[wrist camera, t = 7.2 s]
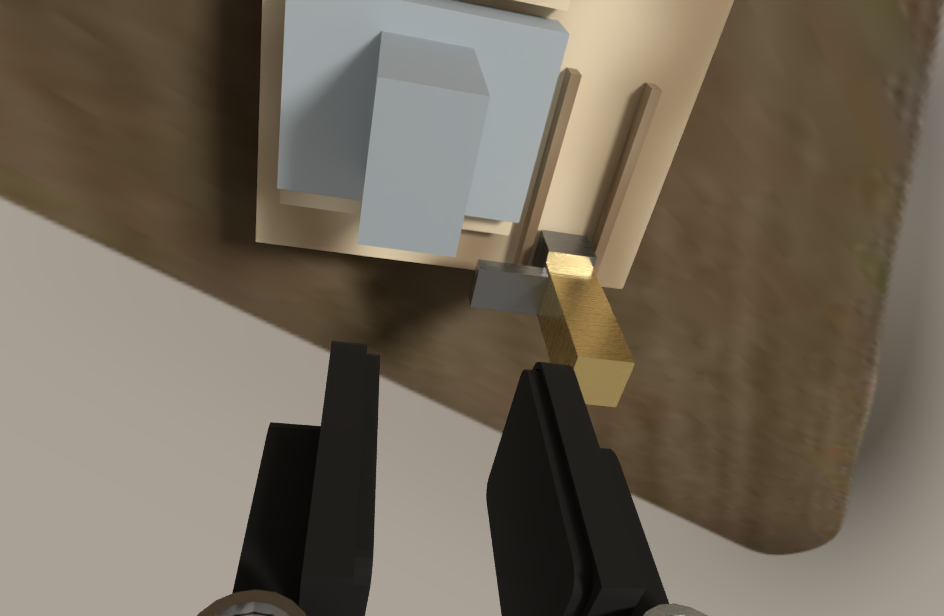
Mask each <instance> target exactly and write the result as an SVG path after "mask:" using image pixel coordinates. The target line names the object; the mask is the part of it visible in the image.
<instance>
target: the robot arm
mask: <svg viewBox="0 0 944 616" xmlns="http://www.w3.org/2000/svg"><path fill="white" fill-rule="evenodd" d="M379 370H380V355H373V354H367V344H357V343H347V342H337V341H332V344H331V352H330V360H329V367H328V376H327V383H326V391H325V398H324V406H323V414H322V422H321V426H310V425H297V424H284V423H270V425H269V428H268V433H267V436H266V441H265V446H264V451H263V456H262V460H261V464H260V469H259V473H258V478H257V483H256V488H255V492H254V497H253V502H252V506H251V510H250V515H249V519H248V524H247V529H246V533H245V538H244V543H243V547H242V552H241V556H240V561H239V566H238V570H237V575H236V579H235V584H234V589H233V593H232V594H230V595H228V596H226V597H223V598H221V599H218V600H216V601H215V602H214V603H212V604H211V605H210V606H208V607H207V608H205V609H204V610H203V611H202V612H200V613H199V614H198V615H197V616H365V611H366V606H367V601H368V596H369V590H370V583H371V575H372V565H373V547H374V546H373V545H374V517H375V489H376V459H377V429H378V397H379ZM486 499H487V508H488V515H489V522H490V531H491V538H492V546H493V553H494V561H495V567H496V576H497V583H498V591H499V598H500V606H501V614H502V616H707V615H705V614H704V613H701V612H699V611H697V610H695V609H693V608H691V607H688V606H683V605H679V604H669V602H668V599H667V596H666V593H665V591H664V588H663V585H662V582H661V579H660V577H659V574H658V571H657V568H656V565H655V562H654V559H653V557H652V554H651V551H650V548H649V545H648V542H647V539H646V537H645V534H644V531H643V528H642V525H641V522H640V520H639V517H638V514H637V511H636V508H635V505H634V503H633V500H632V497H631V494H630V491H629V488H628V485H627V483H626V480H625V477H624V474H623V471H622V468H621V465H620V463H619V460H618V458H617V456H616V454H615V453H614V452H613V451H612V450H611V449H605V448H600V447H599V444H598V441H597V438H596V435H595V432H594V429H593V426H592V423H591V420H590V417H589V414H588V410H587V407H586V404H585V401H584V398H583V395H582V392H581V389H580V386H579V383H578V380H577V377H576V374H575V371H574V369H573V367H572V366H571V365H565V364H555V363H545V362H537V363H536V364H535V365H534V367H533V370H523V372H522V374H521V376H520V379H519V383H518V386H517V389H516V392H515V395H514V399H513V402H512V405H511V408H510V411H509V415H508V418H507V421H506V424H505V427H504V431H503V434H502V437H501V441H500V443H499V447H498V450H497V453H496V456H495V460H494V463H493V466H492V469H491V473H490V475H489V479H488V483H487V493H486Z"/></svg>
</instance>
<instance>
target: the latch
mask: <svg viewBox="0 0 944 616" xmlns="http://www.w3.org/2000/svg"><path fill="white" fill-rule="evenodd" d="M596 259H597V257H596V255H595V252H594V250H593V248H592V246H591V244H590V242H589V239H588V237H587V236H582V235H575V234H568V233H561V232H554V231H547V230H541V234H540V237H539V240H538V244H537V247H536V251H535V254H534V258H533V261H532V265H531V266H526V265H519V264H511V263H504V262H496V261H488V260H481V259H478V261H477V265H476V269H475V273H474V278H473V282H472V286H471V290H470V294H469V302H470V307H474V308H483V309H491V310H500V311H508V312H517V313H525V314H533V315H537V317H538V320H539V324H540V327H541V331H542V334H543V338H544V341H545V345H546V349H547V352H548V356H549V359H550V363H555V364H565V365H571V366H572V367H573V369H574V371H575V374H576V377H577V380H578V383H579V386H580V389H581V392H582V395H583V398H584V401H585V404H590V405H601V406H611V407H616V406H617V404H618V402H619V399H620V397H621V395H622V392H623V390H624V388H625V385H626V383H627V381H628V378H629V376H630V374H631V371H632V369H633V367H634V364H635V361H634V359H633V357H632V355H631V352H630V350H629V348H628V346H627V343H626V341H625V339H624V336H623V334H622V332H621V330H620V327H619V325H618V323H617V321H616V318H615V316H614V314H613V312H612V309H611V307H610V305H609V303H608V300H607V298H606V296H605V294H604V291H603V289H602V287H601V285H600V282H599V280H598V278H597V276H596V273H595V271H594V269H593V268H594V265H595V262H596Z"/></svg>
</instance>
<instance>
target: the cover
mask: <svg viewBox="0 0 944 616" xmlns="http://www.w3.org/2000/svg"><path fill="white" fill-rule="evenodd" d="M569 35H570V34H569V33H568V31H567V30H566V29H565V28H564V27H563V26H562V24H561V23H560V22H559V21H558V20H554V19H549V18H544V17H539V16H534V15H530V14H525V13H520V12H515V11H510V10H505V9H500V8H495V7H490V6H485V5H480V4H475V3H470V2H465V1H460V0H286V3H285V25H284V47H283V69H282V91H281V113H280V135H279V157H278V179H277V188H278V189H285V190H292V191H299V192H306V193H313V194H320V195H327V196H334V197H341V198H347V199H354V200H361V211H360V220H359V229H358V239H357V244H359V245H367V246H374V247H382V248H389V249H397V250H405V251H412V252H420V253H427V254H435V255H442V256H450V257H456V253H457V248H458V243H459V239H460V234H461V230H462V225H463V220H464V216H465V215H466V216H473V217H480V218H487V219H494V220H501V221H508V222H515V223H519V221H520V217H521V214H522V210H523V206H524V202H525V199H526V195H527V191H528V188H529V184H530V180H531V176H532V173H533V169H534V165H535V161H536V158H537V154H538V150H539V147H540V143H541V139H542V135H543V132H544V128H545V124H546V120H547V117H548V113H549V109H550V106H551V102H552V98H553V94H554V91H555V87H556V83H557V79H558V76H559V72H560V68H561V65H562V61H563V57H564V53H565V50H566V46H567V42H568V38H569Z"/></svg>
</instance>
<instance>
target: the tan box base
mask: <svg viewBox="0 0 944 616" xmlns="http://www.w3.org/2000/svg"><path fill="white" fill-rule="evenodd" d="M460 1H465V2H470V3H475V4H480V5H485V6H490V7H495V8H500V9H505V10H510V11H515V12H520V13H525V14H530V15H534V16H539V17H544V18H549V19H554V20H558V21H559V22H560V23H561V24H562V26H563V27H564V28H565V29H566V30H567V31H568V33H569V34H570V35H569V38H568V42H567V46H566V50H565V53H564V57H563V61H562V65H561V68H560V72H559V76H558V79H557V83H556V87H555V91H554V94H553V98H552V102H551V106H550V109H549V113H548V117H547V120H546V124H545V128H544V132H543V135H542V139H541V143H540V147H539V150H538V154H537V158H536V161H535V165H534V169H533V173H532V176H531V180H530V184H529V188H528V191H527V195H526V199H525V202H524V206H523V210H522V214H521V217H520V221H519V223H515V222H508V221H501V220H494V219H487V218H480V217H473V216H466V215H465V216H464V220H463V225H462V230H461V234H460V239H459V243H458V248H457V253H456V257H450V256H442V255H435V254H427V253H420V252H412V251H405V250H397V249H389V248H382V247H374V246H367V245H359V244H357V239H358V229H359V220H360V211H361V200H354V199H347V198H341V197H334V196H327V195H320V194H313V193H306V192H299V191H292V190H285V189H278V188H277V179H278V157H279V135H280V113H281V91H282V69H283V47H284V25H285V3H286V0H262V30H261V66H260V102H259V139H258V175H257V211H256V242H261V243H268V244H276V245H284V246H292V247H299V248H307V249H315V250H323V251H330V252H338V253H346V254H354V255H361V256H369V257H377V258H385V259H392V260H400V261H408V262H416V263H424V264H431V265H439V266H447V267H455V268H462V269H470V270H475V269H476V265H477V261H478V259H481V260H488V261H496V262H504V263H511V264H519V265H526V266H531V265H532V261H533V258H534V254H535V251H536V247H537V244H538V240H539V237H540V234H541V230H547V231H554V232H561V233H568V234H575V235H582V236H587V237H588V239H589V242H590V244H591V246H592V248H593V250H594V252H595V255H596V257H597V259H596V262H595V265H594V268H593V269H594V271H595V273H596V276H597V278H598V280H599V282H600V285H601V286H602V287H610V288H618V289H623V286H624V284H625V281H626V279H627V276H628V273H629V271H630V268H631V266H632V263H633V260H634V258H635V255H636V253H637V250H638V247H639V245H640V242H641V240H642V237H643V235H644V232H645V229H646V227H647V224H648V222H649V219H650V216H651V214H652V211H653V209H654V206H655V203H656V201H657V198H658V196H659V193H660V191H661V188H662V185H663V183H664V180H665V178H666V175H667V172H668V170H669V167H670V165H671V162H672V159H673V157H674V154H675V152H676V149H677V147H678V144H679V141H680V139H681V136H682V134H683V131H684V128H685V126H686V123H687V121H688V118H689V115H690V113H691V110H692V108H693V105H694V103H695V100H696V97H697V95H698V92H699V90H700V87H701V84H702V82H703V79H704V77H705V74H706V71H707V69H708V66H709V64H710V61H711V59H712V56H713V53H714V51H715V48H716V46H717V43H718V40H719V38H720V35H721V33H722V30H723V27H724V25H725V22H726V20H727V17H728V15H729V12H730V9H731V7H732V4H733V2H734V0H460Z"/></svg>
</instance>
